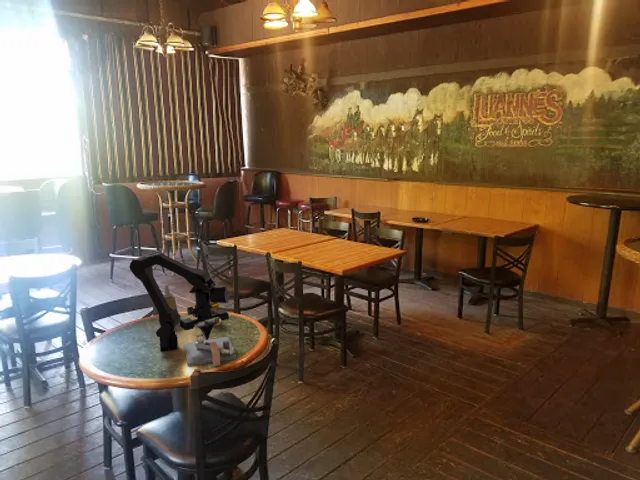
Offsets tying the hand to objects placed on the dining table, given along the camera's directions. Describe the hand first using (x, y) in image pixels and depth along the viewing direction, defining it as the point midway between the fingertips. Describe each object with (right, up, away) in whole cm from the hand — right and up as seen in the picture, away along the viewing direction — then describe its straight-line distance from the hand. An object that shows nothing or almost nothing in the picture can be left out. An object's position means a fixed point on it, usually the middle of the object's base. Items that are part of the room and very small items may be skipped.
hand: (206, 339), depth 201 cm
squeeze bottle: (-24, +2, +31) cm, 39 cm away
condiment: (-5, +2, +29) cm, 30 cm away
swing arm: (+4, -3, -5) cm, 7 cm away
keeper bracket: (+5, -6, -10) cm, 13 cm away
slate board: (+2, -4, -3) cm, 5 cm away
